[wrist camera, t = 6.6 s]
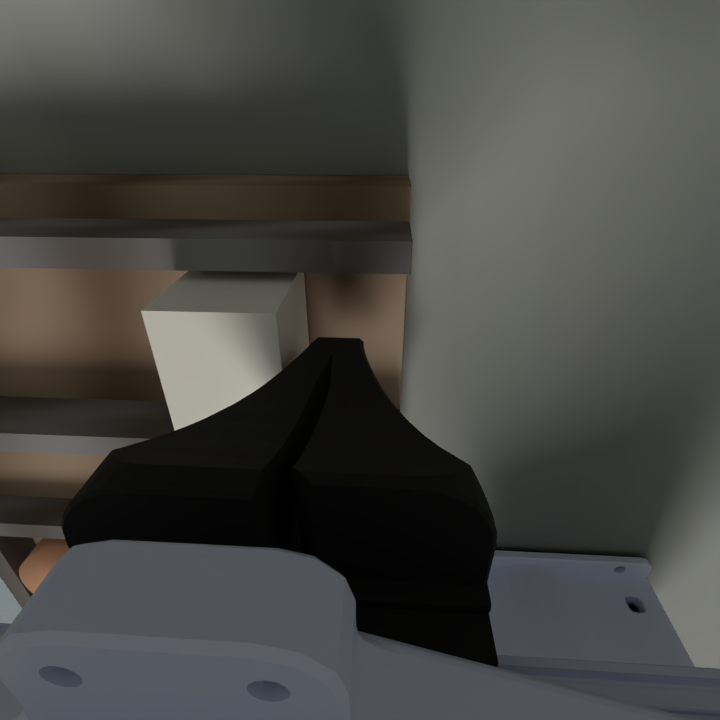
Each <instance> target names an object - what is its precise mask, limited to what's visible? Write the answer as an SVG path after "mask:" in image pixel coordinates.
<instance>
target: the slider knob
mask: <svg viewBox="0 0 720 720" xmlns="http://www.w3.org/2000/svg"><path fill="white" fill-rule="evenodd" d="M141 313H142V317H143V320H144V324H145V327H146V331H147V334H148V338H149V341H150V345H151V349H152V352H153V356H154V359H155V363H156V366H157V370H158V373H159V377H160V381H161V384H162V388H163V391H164V395H165V398H166V402H167V406H168V409H169V413H170V416H171V420H172V423H173V427H174V430H178V429H181V428H183V427H186V426H188V425H191V424H193V423H195V422H198V421H200V420H202V419H205V418H207V417H209V416H211V415H213V414H215V413H217V412H219V411H221V410H223V409H225V408H227V407H229V406H231V405H233V404H234V403H236V402H238V401H240V400H241V399H243V398H244V397H246V396H248V395H249V394H251V393H253V392H254V391H256V390H257V389H259V388H260V387H261V386H263V385H264V384H266V383H267V382H268V381H269V380H271V379H272V378H273V377H274V376H276V375H277V374H278V373H280V372H281V371H282V370H283V369H284V368H286V367H287V366H288V365H289V364H290V363H291V362H292V361H293V360H295V359H296V358H297V357H298V356H299V355H300V354H301V353H302V352H303V351H304V350H305V349H306V348H307V347H308V346H309V335H308V321H307V307H306V293H305V279H304V273H301V272H239V271H188V272H186V273H185V274H184V275H183V276H182V277H180V278H179V279H178V280H177V281H176V282H175V283H173V284H172V285H171V286H170V287H169V288H167V289H166V290H165V291H164V292H163V293H161V294H160V295H159V296H158V297H157V298H155V299H154V300H153V301H152V302H151V303H149V304H148V305H147V306H146V307H145V308H144V309H142V310H141Z"/></svg>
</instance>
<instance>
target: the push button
mask: <svg viewBox="0 0 720 720" xmlns="http://www.w3.org/2000/svg"><path fill="white" fill-rule="evenodd" d="M68 550H70V549H69V547H68V545H67V543H66V540H65V539H48V538H42V539H41V540H40V542H39V543H38V544H37V546H36V547H35V548H34V549H33V551H32V552H31V553H30V554H29V556H28V557H27V558H26V559H25V561H24V562H23V563H22V564H21V566H20V568H19V576H20V579H21V581H22V582H23V584H24V585H25V586H26V587H27V589H28V590H30V591H31V592H32V593H34V592H35V591H36V589H37V588H38V586H39V585H40V584H41V582H42V581H43V580H44V578H45V577H46V575H47V574H48V573H49V571H50V570H51V569H52V567H53V566H54V564H55V563H56V562H57V561H58V560H59V559H60V558H61V557H62V556H63V555H64V554H65V553H66V552H67V551H68Z"/></svg>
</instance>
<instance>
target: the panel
mask: <svg viewBox="0 0 720 720" xmlns="http://www.w3.org/2000/svg"><path fill="white" fill-rule="evenodd" d="M410 199H411V184H410V180H409V176H372V175H134V174H0V577H1V578H2V580H3V581H4V582H5V584H6V585H7V587H8V588H9V590H10V591H11V593H12V594H13V596H14V597H15V598H16V600H17V601H18V603H19V604H20V606H21V607H22V609H23V607H24V606H25V604H26V603H27V602H28V600H29V599H30V598H31V596H32V595H33V593H32V592H31V591H30V590H28V589H27V587H26V586H25V585H24V584H23V582H22V581H21V579H20V576H19V568H20V566H21V564H22V563H23V562H24V561H25V559H26V558H27V557H28V556H29V554H30V553H31V552H32V551H33V549H34V548H35V547H36V546H37V544H38V543H39V542H40V540H41V539H42V538H48V539H65V537H64V534H63V531H62V528H61V527H62V514H63V513H64V511H65V509H66V508H67V506H68V504H69V503H70V501H71V500H72V499H73V498H74V496H75V495H76V494H77V493H78V491H79V490H80V489H81V488H82V486H83V485H84V484H85V483H86V481H87V480H88V479H89V478H90V476H91V475H92V474H93V473H94V471H95V470H96V469H97V468H98V466H99V465H100V464H101V463H102V461H103V460H104V459H105V458H106V457H107V455H108V454H109V453H110V452H111V451H112V450H114V449H118V448H122V447H125V446H129V445H132V444H135V443H139V442H142V441H145V440H149V439H152V438H155V437H158V436H161V435H164V434H167V433H170V432H173V431H175V430H174V427H173V423H172V420H171V416H170V413H169V409H168V406H167V402H166V398H165V395H164V391H163V388H162V384H161V381H160V377H159V373H158V370H157V366H156V363H155V359H154V356H153V352H152V349H151V345H150V341H149V338H148V334H147V331H146V327H145V324H144V320H143V317H142V313H141V310H142V309H144V308H145V307H146V306H147V305H148V304H149V303H151V302H152V301H153V300H154V299H155V298H157V297H158V296H159V295H160V294H161V293H163V292H164V291H165V290H166V289H167V288H169V287H170V286H171V285H172V284H173V283H175V282H176V281H177V280H178V279H179V278H180V277H182V276H183V275H184V274H185V273H186V272H188V271H239V272H301V273H304V279H305V293H306V307H307V321H308V335H309V345H310V344H311V343H312V342H313V341H315V340H316V339H317V338H318V337H336V338H360V339H361V340H362V341H363V342H364V350H365V354H366V357H367V360H368V362H369V364H370V367H371V369H372V371H373V373H374V375H375V377H376V379H377V380H378V382H379V384H380V385H381V387H382V389H383V390H384V392H385V393H386V395H387V396H388V398H389V399H390V400H391V402H392V403H393V404H394V405H395V407H396V408H397V409H398V410H399V412H400V392H401V373H402V354H403V334H404V315H405V296H406V277H407V274H411V259H412V235H411V229H410V222H409V219H410Z"/></svg>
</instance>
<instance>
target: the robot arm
mask: <svg viewBox="0 0 720 720" xmlns="http://www.w3.org/2000/svg"><path fill="white" fill-rule="evenodd" d="M61 528H62V531H63V534H64V537H65V540H66V543H67V545H68V547H69V549H70V550H68V551H67V552H66V553H65V554H64V555H63V556H62V557H61V558H60V559H59V560H58V561H57V562H56V563H55V564H54V566H53V567H52V569H51V570H50V571H49V573H48V574H47V575H46V577H45V578H44V580H43V581H42V582H41V584H40V585H39V586H38V588H37V589H36V591H35V592H34V593H33V595H32V596H31V598H30V599H29V600H28V602H27V603H26V604H25V606H24V607H23V609H22V610H21V611H20V613H19V614H18V615H17V617H16V618H15V620H14V621H13V622H12V624H6V623H0V720H720V669H716V668H701V667H695V666H694V664H693V662H692V661H691V659H690V657H689V655H688V653H687V651H686V649H685V648H684V646H683V644H682V642H681V640H680V638H679V636H678V635H677V633H676V631H675V629H674V627H673V625H672V623H671V622H670V620H669V618H668V616H667V614H666V612H665V610H664V609H663V607H662V605H661V603H660V601H659V599H658V597H657V596H656V594H655V592H654V590H653V588H652V586H651V584H650V583H649V581H648V579H647V578H648V576H649V574H650V572H651V570H652V567H651V565H650V563H649V562H648V560H647V559H645V558H640V557H621V556H601V555H580V554H560V553H540V552H520V551H499V550H495V549H496V539H497V531H496V527H495V522H494V518H493V515H492V512H491V509H490V507H489V504H488V502H487V499H486V497H485V494H484V492H483V490H482V488H481V485H480V483H479V481H478V479H477V477H476V475H475V473H474V471H473V469H472V468H471V466H470V465H469V464H467V463H465V462H464V461H462V460H460V459H459V458H457V457H455V456H454V455H452V454H450V453H449V452H447V451H445V450H444V449H442V448H440V447H439V446H438V445H436V444H435V443H434V442H432V441H431V440H430V439H428V438H427V437H425V436H424V435H423V434H422V433H421V432H420V431H418V430H417V429H416V428H415V427H414V426H413V425H412V424H411V423H410V422H409V421H408V420H407V419H406V418H405V417H404V416H403V415H402V414H401V413H400V412H399V410H398V409H397V408H396V407H395V405H394V404H393V403H392V402H391V400H390V399H389V398H388V396H387V395H386V393H385V392H384V390H383V389H382V387H381V385H380V384H379V382H378V380H377V379H376V377H375V375H374V373H373V371H372V369H371V367H370V364H369V362H368V360H367V357H366V354H365V350H364V342H363V341H362V340H361V339H360V338H336V337H318V338H317V339H316V340H315V341H313V342H312V343H311V344H310V345H309V346H308V347H307V348H306V349H305V350H304V351H303V352H302V353H301V354H300V355H299V356H298V357H297V358H296V359H295V360H293V361H292V362H291V363H290V364H289V365H288V366H287V367H286V368H284V369H283V370H282V371H281V372H280V373H278V374H277V375H276V376H274V377H273V378H272V379H271V380H269V381H268V382H267V383H266V384H264V385H263V386H261V387H260V388H259V389H257V390H256V391H254V392H253V393H251V394H249V395H248V396H246V397H244V398H243V399H241V400H240V401H238V402H236V403H234V404H233V405H231V406H229V407H227V408H225V409H223V410H221V411H219V412H217V413H215V414H213V415H211V416H209V417H207V418H205V419H202V420H200V421H198V422H195V423H193V424H191V425H188V426H186V427H183V428H181V429H178V430H175V431H173V432H170V433H167V434H164V435H161V436H158V437H155V438H152V439H149V440H145V441H142V442H139V443H135V444H132V445H129V446H125V447H122V448H118V449H114V450H112V451H111V452H110V453H109V454H108V455H107V457H106V458H105V459H104V460H103V461H102V463H101V464H100V465H99V466H98V468H97V469H96V470H95V471H94V473H93V474H92V475H91V476H90V478H89V479H88V480H87V481H86V483H85V484H84V485H83V486H82V488H81V489H80V490H79V491H78V493H77V494H76V495H75V496H74V498H73V499H72V500H71V501H70V503H69V504H68V506H67V508H66V509H65V511H64V513H63V514H62V527H61Z"/></svg>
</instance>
